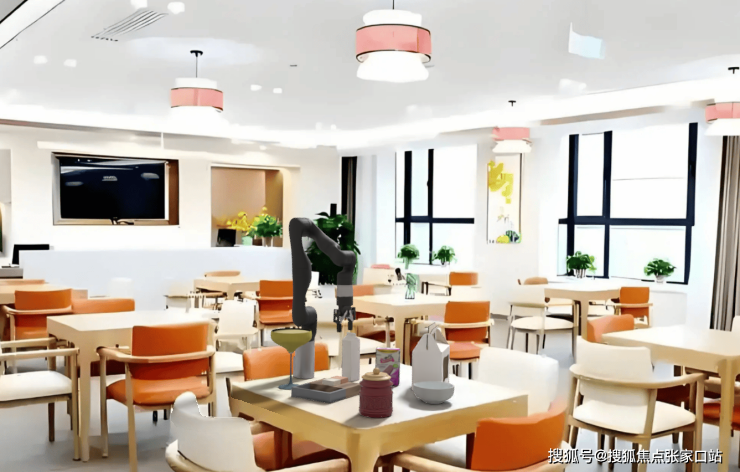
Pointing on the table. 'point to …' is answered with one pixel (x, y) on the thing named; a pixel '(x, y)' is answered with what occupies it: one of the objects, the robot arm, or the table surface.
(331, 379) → the cream tile
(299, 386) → the box
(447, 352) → the gable box
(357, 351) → the milk
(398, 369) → the candy bar box
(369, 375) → the canister
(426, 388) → the cereal bowl
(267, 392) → the table surface
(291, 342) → the cocktail glass
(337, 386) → the brown wooden board
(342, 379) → the terracotta tile
